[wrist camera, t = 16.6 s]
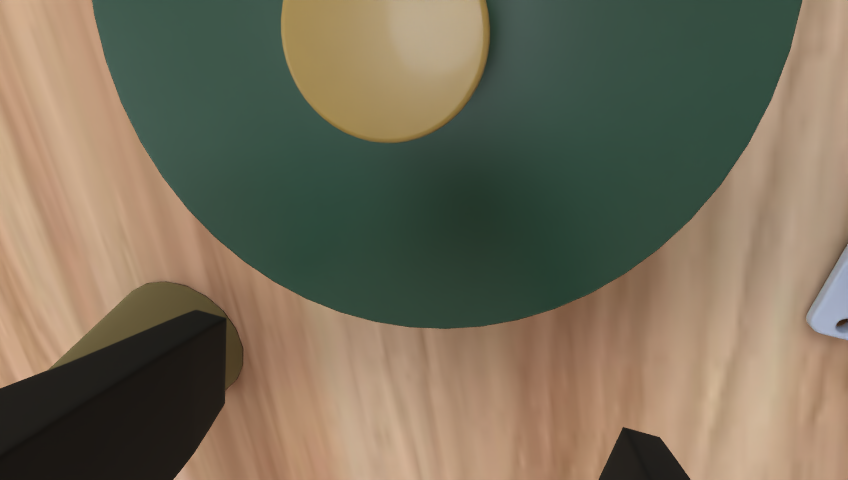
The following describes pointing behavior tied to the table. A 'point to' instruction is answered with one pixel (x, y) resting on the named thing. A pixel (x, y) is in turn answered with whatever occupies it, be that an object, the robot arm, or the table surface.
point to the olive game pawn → (154, 322)
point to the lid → (445, 137)
